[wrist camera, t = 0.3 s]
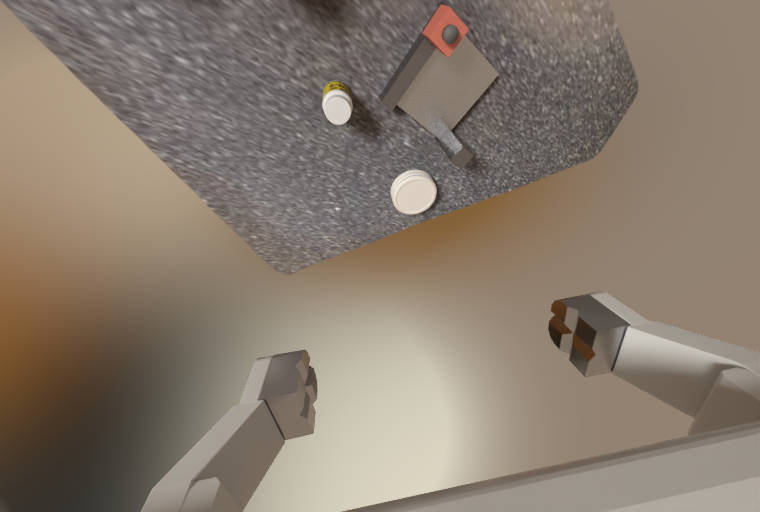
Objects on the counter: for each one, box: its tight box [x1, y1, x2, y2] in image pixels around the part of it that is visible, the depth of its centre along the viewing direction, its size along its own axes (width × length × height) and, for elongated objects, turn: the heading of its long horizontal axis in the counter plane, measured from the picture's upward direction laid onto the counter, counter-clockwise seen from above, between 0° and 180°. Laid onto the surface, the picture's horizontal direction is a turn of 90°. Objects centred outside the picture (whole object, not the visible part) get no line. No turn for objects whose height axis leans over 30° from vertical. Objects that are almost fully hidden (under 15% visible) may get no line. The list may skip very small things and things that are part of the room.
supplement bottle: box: [322, 80, 353, 125], centre depth 47 cm, size 5×5×8 cm
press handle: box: [422, 5, 469, 57], centre depth 41 cm, size 4×4×5 cm
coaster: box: [391, 170, 437, 215], centre depth 64 cm, size 10×10×4 cm
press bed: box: [379, 0, 499, 169], centre depth 47 cm, size 16×17×10 cm
